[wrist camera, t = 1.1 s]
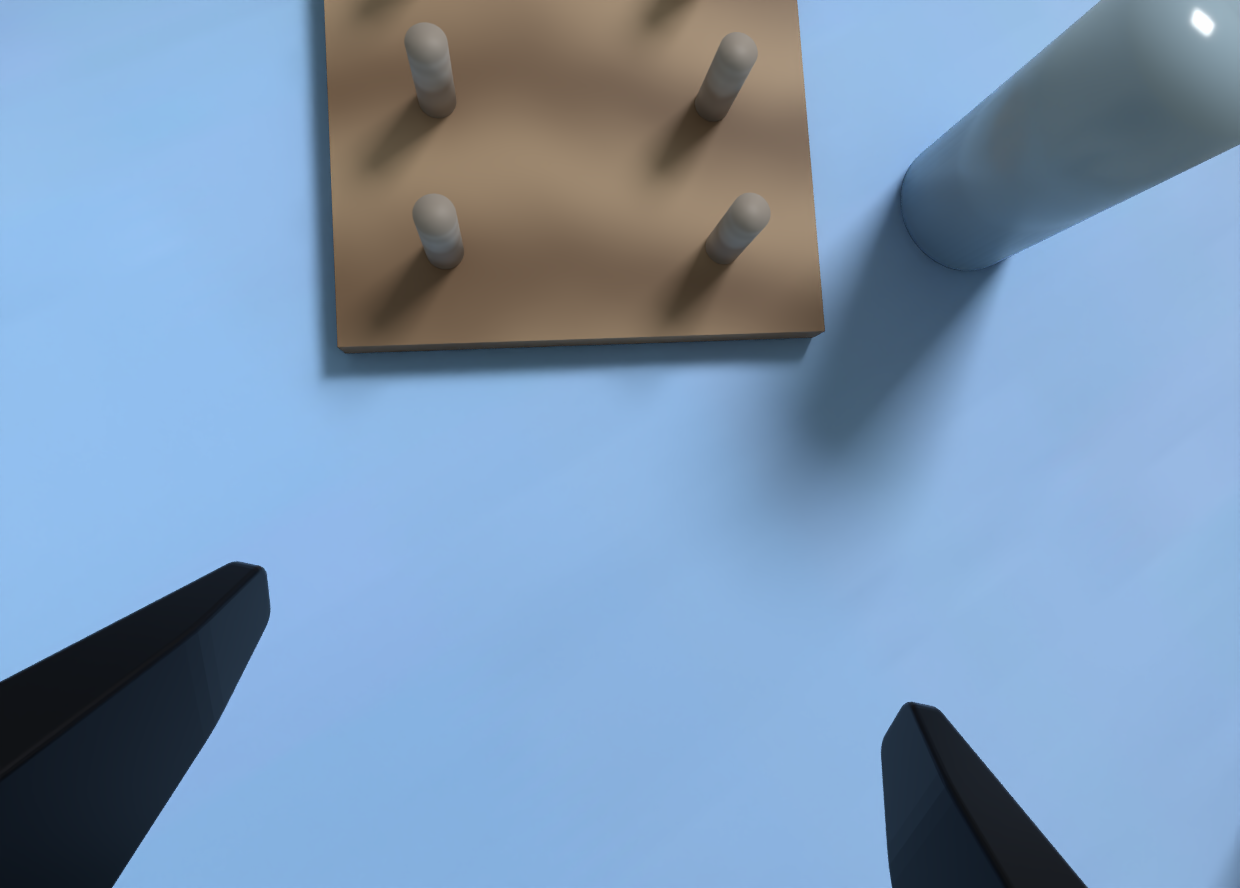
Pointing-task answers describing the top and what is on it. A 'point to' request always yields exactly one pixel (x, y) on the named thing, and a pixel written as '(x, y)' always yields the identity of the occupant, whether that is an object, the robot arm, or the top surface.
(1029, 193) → the grey dome-topped cylinder
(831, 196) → the top surface
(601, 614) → the top surface
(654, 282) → the dish rack
